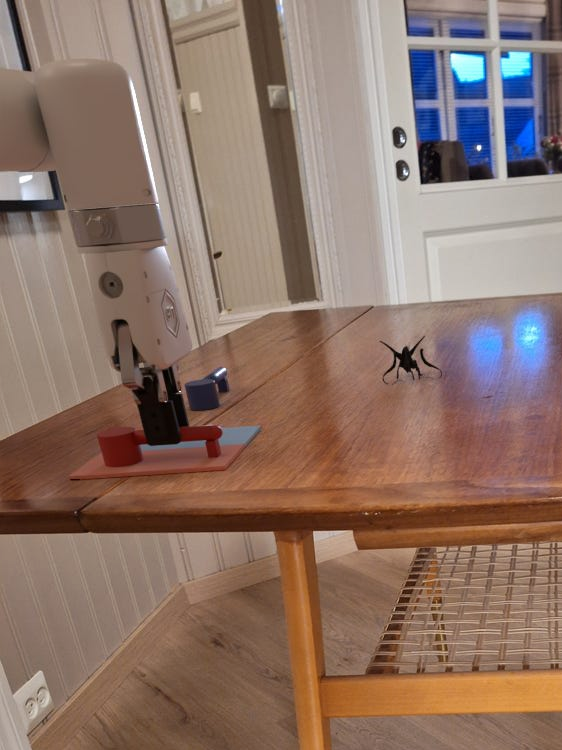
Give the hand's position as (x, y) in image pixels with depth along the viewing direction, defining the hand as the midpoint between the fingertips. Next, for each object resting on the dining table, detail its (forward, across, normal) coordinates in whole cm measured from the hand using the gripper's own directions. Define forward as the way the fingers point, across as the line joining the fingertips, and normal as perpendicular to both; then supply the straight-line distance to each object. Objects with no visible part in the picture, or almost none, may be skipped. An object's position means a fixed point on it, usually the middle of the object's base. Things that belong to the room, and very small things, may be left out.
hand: (169, 438), depth 84 cm
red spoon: (+2, 0, +1) cm, 2 cm away
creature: (+3, +32, -21) cm, 39 cm away
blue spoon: (+2, +28, +4) cm, 29 cm away
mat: (+2, +4, +2) cm, 5 cm away
